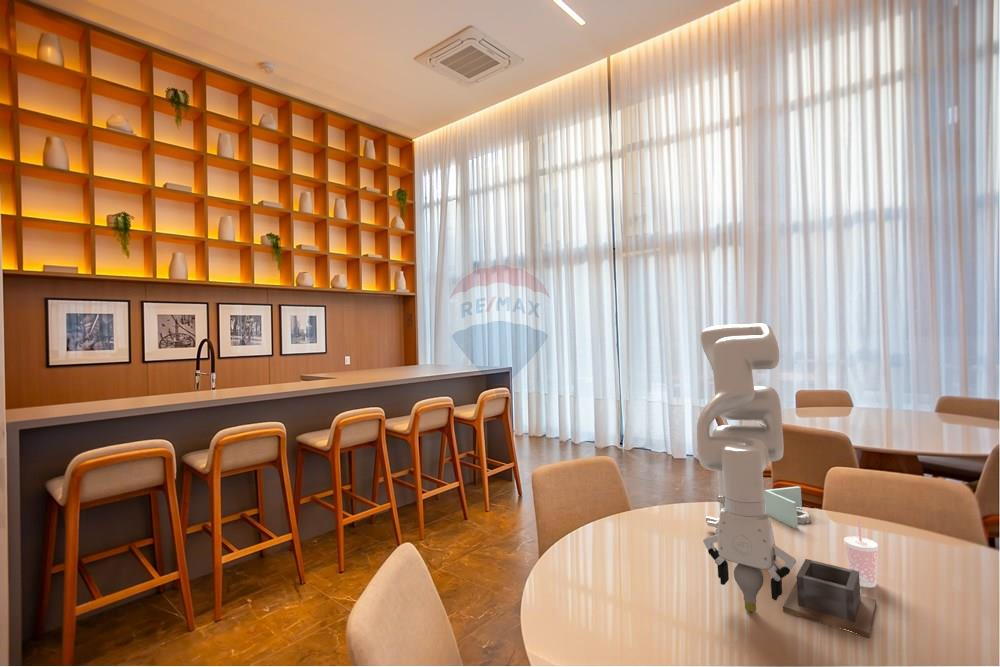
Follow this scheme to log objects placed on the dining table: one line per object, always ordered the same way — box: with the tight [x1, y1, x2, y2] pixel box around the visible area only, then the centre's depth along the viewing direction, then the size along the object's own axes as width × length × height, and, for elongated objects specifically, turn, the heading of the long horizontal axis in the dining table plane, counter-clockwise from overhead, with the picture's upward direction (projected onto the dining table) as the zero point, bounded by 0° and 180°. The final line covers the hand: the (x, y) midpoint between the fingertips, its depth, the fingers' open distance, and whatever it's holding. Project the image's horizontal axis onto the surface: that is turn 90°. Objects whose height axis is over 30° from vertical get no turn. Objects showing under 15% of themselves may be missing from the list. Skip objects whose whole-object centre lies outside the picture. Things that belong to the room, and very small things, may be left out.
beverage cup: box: [843, 518, 879, 588], centre depth 106 cm, size 6×6×14 cm
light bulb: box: [733, 563, 765, 613], centre depth 97 cm, size 6×5×10 cm
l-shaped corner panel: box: [764, 486, 811, 529], centre depth 142 cm, size 12×12×8 cm
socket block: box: [782, 558, 877, 639], centre depth 97 cm, size 14×14×7 cm
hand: (749, 589), depth 96 cm, fingers open, 9 cm apart
